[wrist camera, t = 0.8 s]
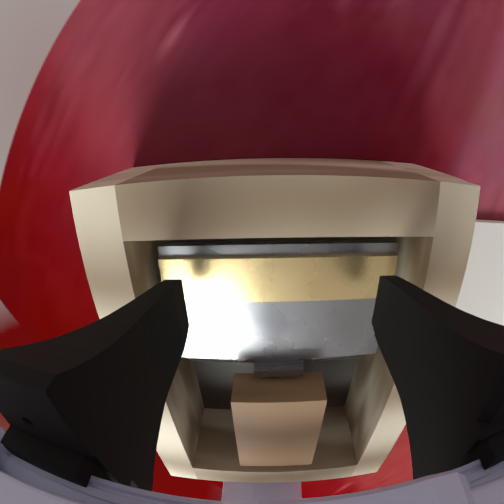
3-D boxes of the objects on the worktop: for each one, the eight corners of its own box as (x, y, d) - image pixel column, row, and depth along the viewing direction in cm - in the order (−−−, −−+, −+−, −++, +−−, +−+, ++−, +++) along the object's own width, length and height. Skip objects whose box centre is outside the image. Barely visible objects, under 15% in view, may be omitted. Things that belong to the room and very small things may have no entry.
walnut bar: (309, 440, 17) (311, 464, 15) (241, 441, 17) (240, 465, 16) (321, 371, 15) (327, 400, 13) (234, 373, 15) (230, 402, 13)
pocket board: (362, 414, 22) (376, 471, 16) (185, 417, 23) (171, 475, 17) (413, 163, 14) (480, 185, 9) (132, 167, 15) (69, 191, 9)
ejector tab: (346, 425, 18) (349, 443, 16) (203, 428, 18) (200, 446, 17) (389, 234, 13) (403, 248, 11) (164, 238, 13) (152, 252, 12)
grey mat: (493, 366, 20) (496, 370, 19) (408, 386, 20) (411, 391, 20) (542, 223, 15) (547, 226, 14) (456, 218, 15) (461, 221, 15)
